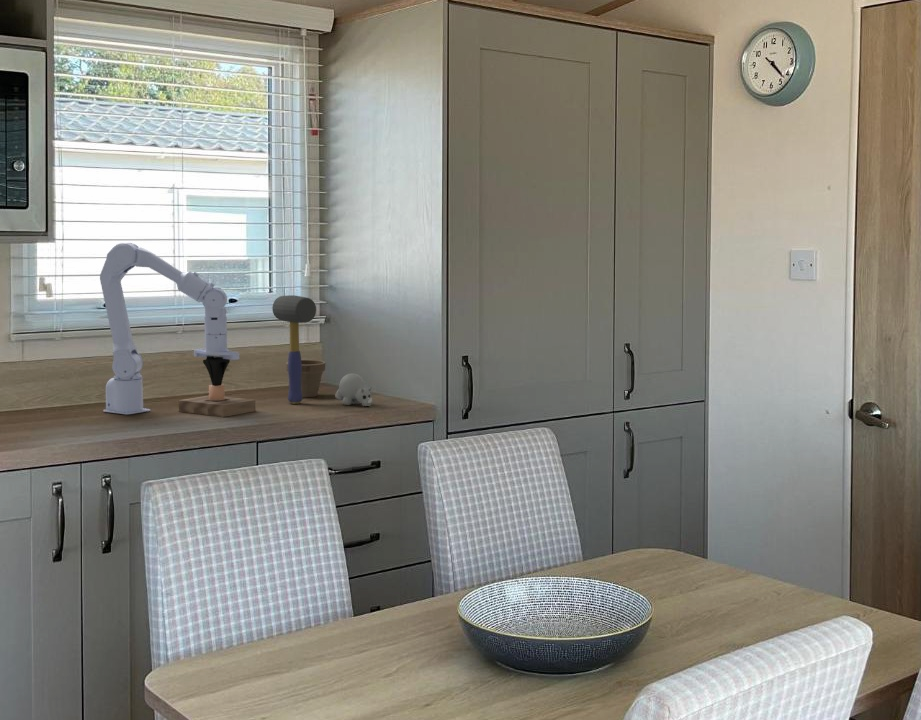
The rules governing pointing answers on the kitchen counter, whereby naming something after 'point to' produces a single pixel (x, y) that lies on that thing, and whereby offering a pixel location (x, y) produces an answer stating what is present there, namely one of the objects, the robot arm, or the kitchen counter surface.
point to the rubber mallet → (294, 336)
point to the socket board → (217, 406)
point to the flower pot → (310, 376)
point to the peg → (216, 393)
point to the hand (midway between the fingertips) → (216, 385)
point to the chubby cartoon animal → (353, 390)
